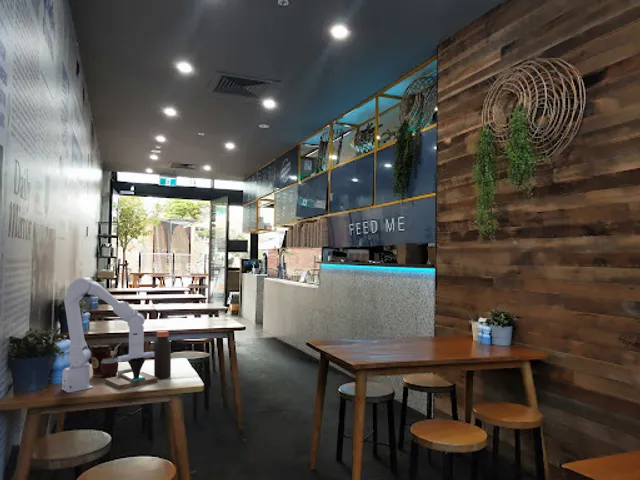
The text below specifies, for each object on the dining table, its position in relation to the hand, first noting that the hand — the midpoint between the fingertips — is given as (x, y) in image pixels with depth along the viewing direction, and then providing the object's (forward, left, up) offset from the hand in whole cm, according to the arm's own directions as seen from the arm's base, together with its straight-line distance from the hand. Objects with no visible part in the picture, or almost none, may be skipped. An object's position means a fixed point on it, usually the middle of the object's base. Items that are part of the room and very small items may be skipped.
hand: (136, 377), depth 198 cm
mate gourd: (-2, +21, -3) cm, 21 cm away
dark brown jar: (-4, +27, -3) cm, 28 cm away
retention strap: (0, +3, -1) cm, 4 cm away
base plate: (0, +4, -3) cm, 5 cm away
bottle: (+13, +4, -3) cm, 14 cm away
